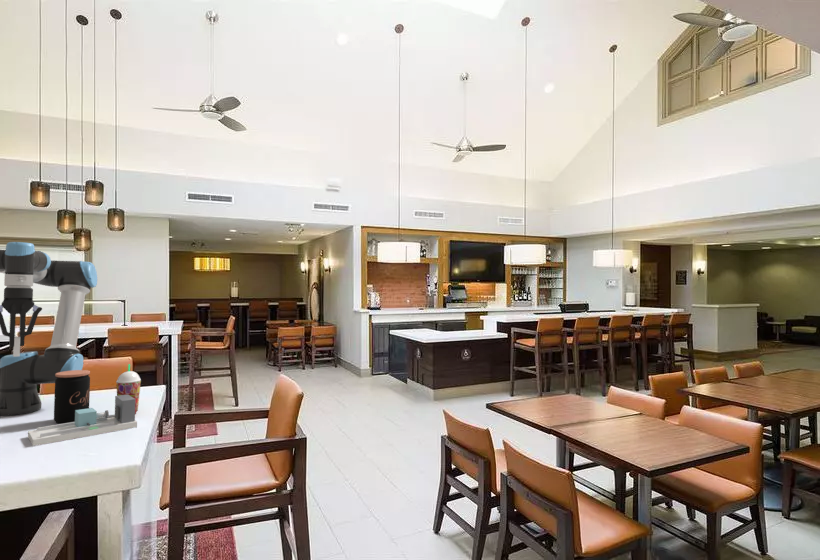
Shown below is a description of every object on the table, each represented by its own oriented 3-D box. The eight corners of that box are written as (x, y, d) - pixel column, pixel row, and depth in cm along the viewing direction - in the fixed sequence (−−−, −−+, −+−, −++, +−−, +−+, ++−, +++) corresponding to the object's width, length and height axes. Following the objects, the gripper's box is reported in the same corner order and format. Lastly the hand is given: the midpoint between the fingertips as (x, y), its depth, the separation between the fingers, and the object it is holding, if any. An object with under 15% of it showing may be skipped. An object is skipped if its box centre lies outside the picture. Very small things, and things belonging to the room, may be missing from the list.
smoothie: (111, 418, 173) (113, 366, 173) (119, 412, 181) (120, 362, 181) (136, 417, 175) (138, 365, 176) (142, 411, 183) (144, 362, 184)
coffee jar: (70, 425, 164) (71, 375, 164) (46, 423, 166) (47, 374, 166) (95, 417, 174) (97, 370, 174) (73, 415, 176) (74, 369, 177)
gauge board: (28, 437, 150) (29, 407, 150) (127, 420, 171) (128, 393, 171) (32, 446, 142) (34, 414, 142) (137, 427, 163) (137, 399, 163)
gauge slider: (74, 424, 157) (75, 410, 157) (105, 419, 163) (105, 405, 164) (80, 430, 151) (80, 415, 151) (111, 425, 157) (112, 410, 157)
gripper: (-7, 286, 147) (-9, 359, 147) (44, 287, 157) (42, 355, 156) (-8, 286, 153) (-11, 356, 152) (41, 287, 162) (39, 353, 161)
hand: (16, 355), depth 154 cm, fingers closed
